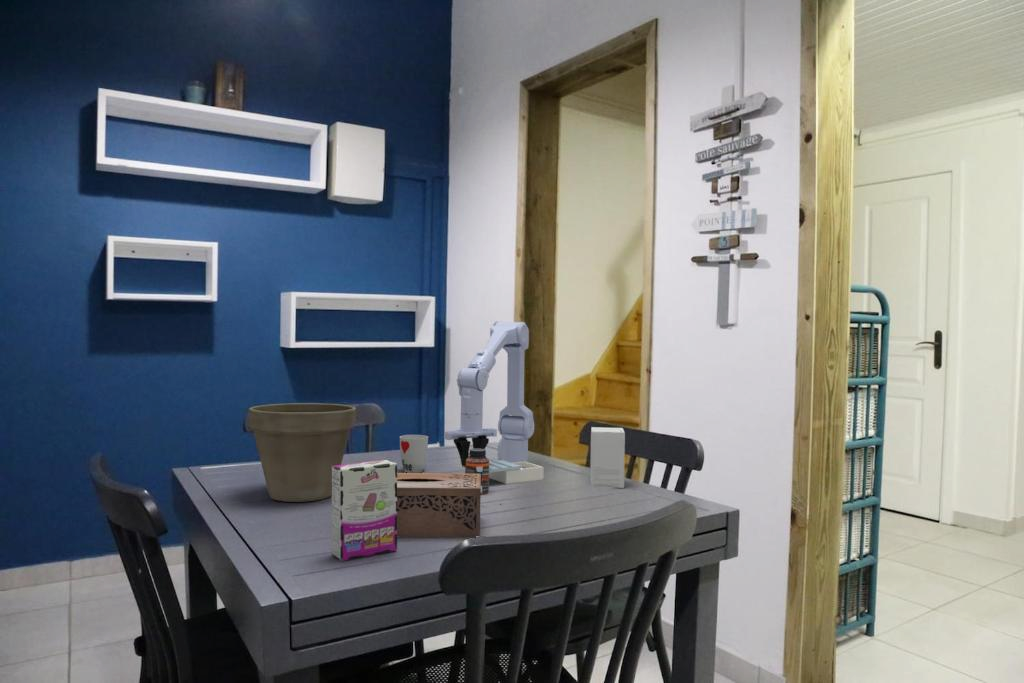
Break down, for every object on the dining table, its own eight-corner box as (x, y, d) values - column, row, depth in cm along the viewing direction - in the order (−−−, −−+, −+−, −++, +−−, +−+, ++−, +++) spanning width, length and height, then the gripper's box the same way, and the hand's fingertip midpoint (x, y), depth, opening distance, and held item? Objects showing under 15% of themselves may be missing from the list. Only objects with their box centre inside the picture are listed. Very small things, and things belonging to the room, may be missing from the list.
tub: (488, 479, 196) (488, 465, 196) (525, 475, 203) (525, 461, 203) (506, 486, 189) (506, 471, 189) (543, 481, 195) (543, 467, 195)
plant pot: (305, 480, 191) (306, 399, 191) (375, 492, 179) (376, 405, 178) (224, 498, 170) (226, 407, 170) (298, 514, 157) (299, 415, 157)
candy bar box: (385, 544, 137) (387, 458, 136) (397, 551, 133) (399, 463, 132) (329, 554, 130) (330, 464, 130) (340, 562, 126) (341, 469, 126)
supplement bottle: (485, 498, 175) (486, 451, 175) (462, 496, 176) (462, 450, 176) (491, 492, 181) (491, 448, 181) (468, 491, 182) (469, 446, 182)
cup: (395, 469, 207) (396, 435, 207) (422, 467, 211) (423, 434, 211) (403, 475, 200) (404, 439, 200) (431, 473, 204) (432, 438, 203)
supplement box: (622, 481, 198) (624, 427, 197) (624, 488, 189) (625, 431, 189) (589, 480, 199) (590, 426, 198) (590, 487, 190) (591, 430, 189)
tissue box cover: (349, 537, 142) (349, 487, 141) (361, 518, 156) (362, 472, 156) (479, 538, 143) (480, 488, 142) (479, 519, 157) (480, 473, 157)
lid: (456, 467, 191) (457, 451, 191) (501, 462, 199) (502, 447, 199) (474, 473, 183) (475, 457, 183) (520, 469, 191) (521, 452, 191)
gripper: (454, 416, 180) (453, 470, 181) (503, 414, 188) (502, 465, 189) (441, 413, 186) (440, 465, 187) (489, 411, 194) (488, 461, 194)
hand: (470, 465), depth 188 cm, fingers closed on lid, 3 cm apart
